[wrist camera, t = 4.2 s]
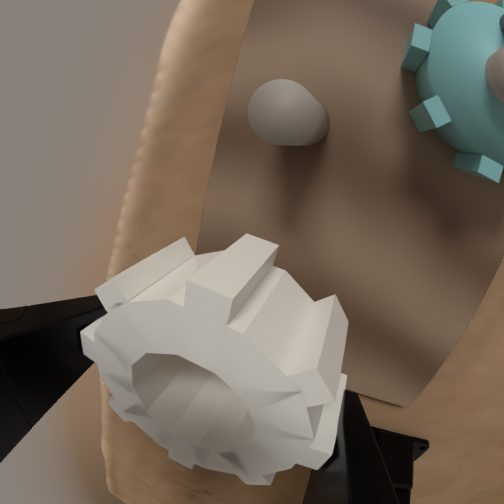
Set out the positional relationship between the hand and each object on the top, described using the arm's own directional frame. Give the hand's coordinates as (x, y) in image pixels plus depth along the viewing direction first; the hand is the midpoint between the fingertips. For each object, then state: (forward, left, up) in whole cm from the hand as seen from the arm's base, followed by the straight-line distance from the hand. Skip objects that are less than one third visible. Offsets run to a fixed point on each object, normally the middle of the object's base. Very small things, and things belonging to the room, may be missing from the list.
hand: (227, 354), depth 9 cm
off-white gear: (0, 0, -1) cm, 1 cm away
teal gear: (+11, -6, -6) cm, 14 cm away
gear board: (+5, -3, -7) cm, 9 cm away
